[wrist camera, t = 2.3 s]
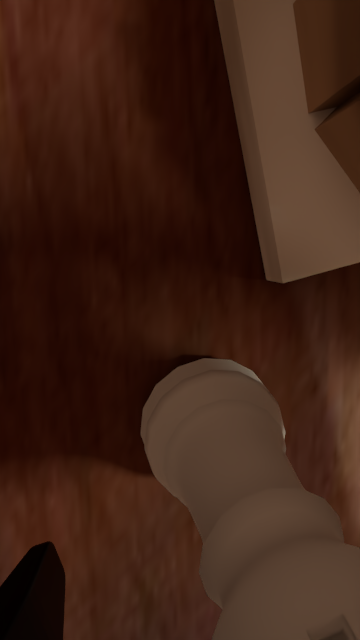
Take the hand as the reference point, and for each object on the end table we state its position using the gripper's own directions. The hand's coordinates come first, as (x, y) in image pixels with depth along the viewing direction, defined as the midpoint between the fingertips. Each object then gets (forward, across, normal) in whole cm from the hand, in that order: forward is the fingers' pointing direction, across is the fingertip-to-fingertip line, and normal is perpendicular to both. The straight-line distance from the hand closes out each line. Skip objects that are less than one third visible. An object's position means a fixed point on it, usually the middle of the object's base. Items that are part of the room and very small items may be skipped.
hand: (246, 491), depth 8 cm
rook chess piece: (+4, 0, 0) cm, 4 cm away
